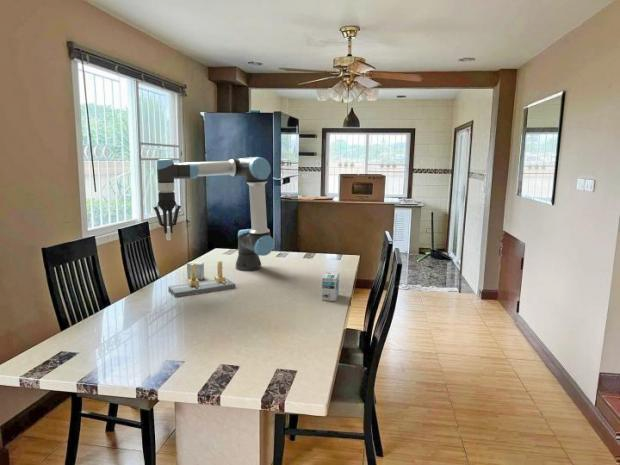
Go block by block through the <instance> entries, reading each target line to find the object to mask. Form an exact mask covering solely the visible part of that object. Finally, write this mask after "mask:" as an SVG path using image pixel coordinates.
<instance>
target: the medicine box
mask: <svg viewBox="0 0 620 465" xmlns="http://www.w3.org/2000/svg"><path fill="white" fill-rule="evenodd" d="M192 263H195V265H196V278H197V279H201V280H203V279H204V278H205V263H204V262H203V261H201V262H200V261H199V262H198V261H189V262H188V263H186V272H187V280H188V279H191V267H190V264H192ZM201 280H200V281H201Z"/></svg>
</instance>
